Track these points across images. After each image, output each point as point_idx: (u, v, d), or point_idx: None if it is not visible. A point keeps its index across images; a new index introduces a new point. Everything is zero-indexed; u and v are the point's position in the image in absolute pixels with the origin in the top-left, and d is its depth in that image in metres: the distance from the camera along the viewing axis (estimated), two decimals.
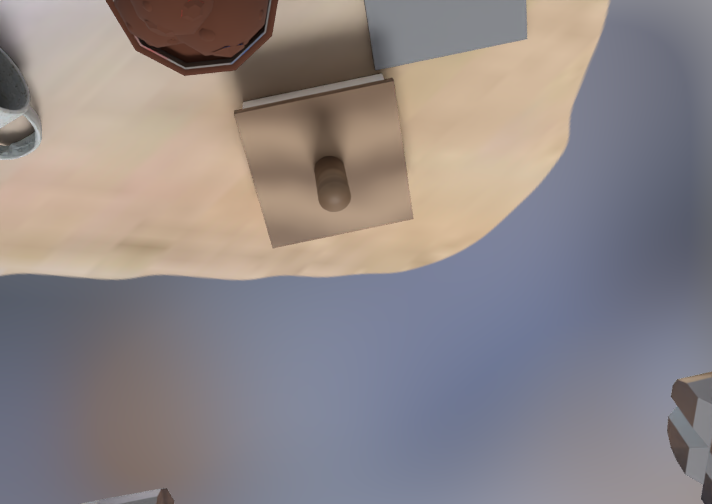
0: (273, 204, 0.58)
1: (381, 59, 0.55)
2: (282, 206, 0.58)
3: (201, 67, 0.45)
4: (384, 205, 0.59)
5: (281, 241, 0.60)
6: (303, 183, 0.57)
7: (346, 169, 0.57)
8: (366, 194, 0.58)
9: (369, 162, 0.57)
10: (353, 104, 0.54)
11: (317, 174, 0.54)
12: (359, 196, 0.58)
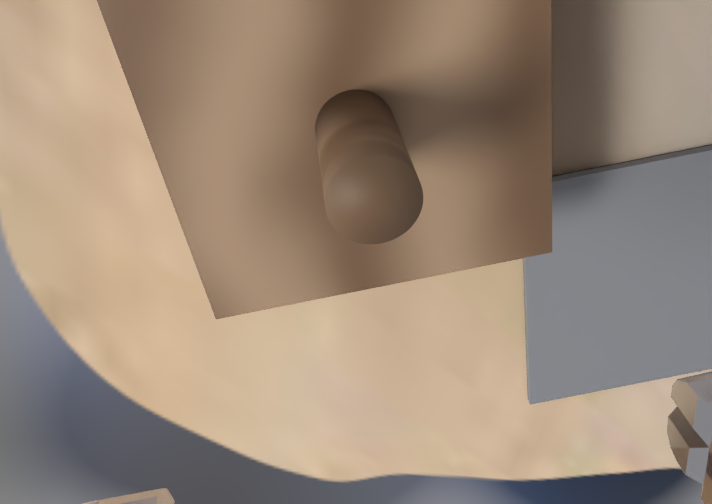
0: None
1: None
2: None
3: None
4: (251, 258, 0.24)
5: None
6: (317, 60, 0.20)
7: None
8: (282, 217, 0.23)
9: None
10: (516, 177, 0.23)
11: (383, 118, 0.19)
12: (276, 202, 0.23)
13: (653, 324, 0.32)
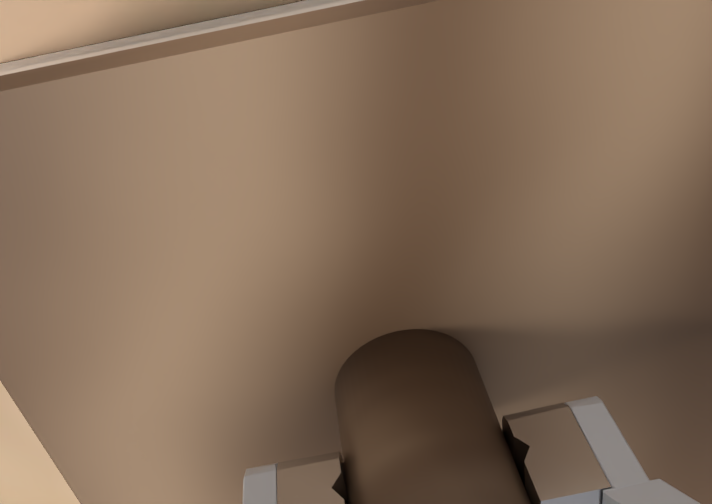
0: (200, 137, 0.09)
1: None
2: (189, 188, 0.09)
3: None
4: None
5: None
6: (341, 288, 0.11)
7: None
8: None
9: None
10: (674, 436, 0.14)
11: (476, 422, 0.10)
12: None
13: None
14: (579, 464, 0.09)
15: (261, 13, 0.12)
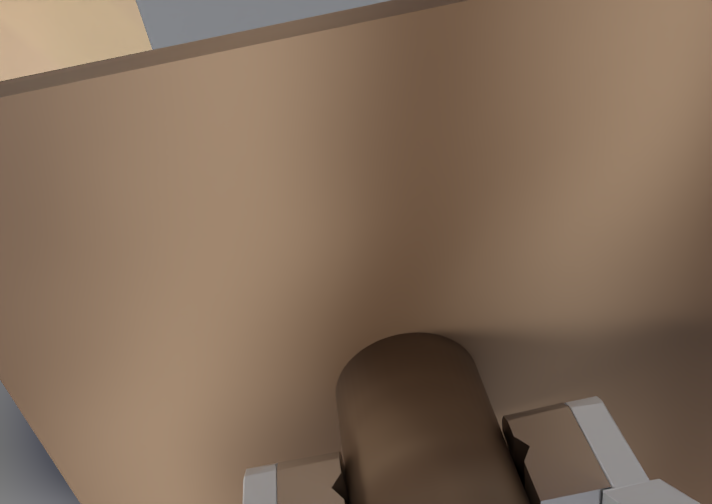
0: (202, 141, 0.09)
1: None
2: (191, 192, 0.09)
3: None
4: None
5: None
6: (342, 291, 0.11)
7: None
8: None
9: None
10: (674, 439, 0.14)
11: (477, 426, 0.10)
12: None
13: None
14: (579, 464, 0.09)
15: None
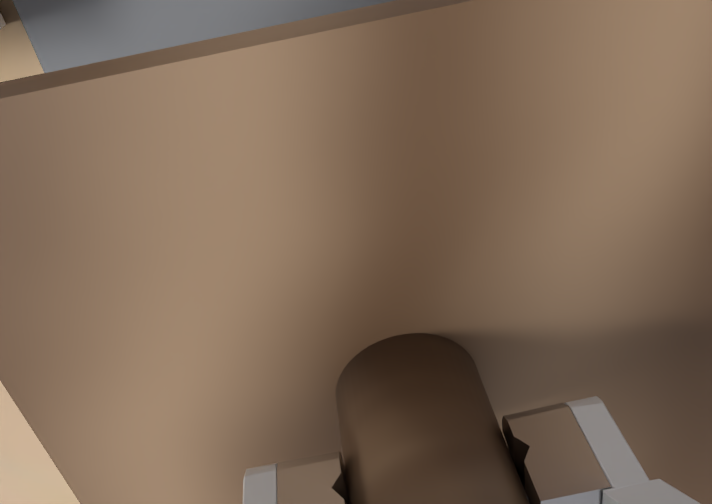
0: (202, 142, 0.09)
1: (63, 23, 0.14)
2: (191, 193, 0.09)
3: None
4: None
5: None
6: (343, 292, 0.11)
7: None
8: None
9: None
10: (675, 439, 0.14)
11: (477, 427, 0.10)
12: None
13: None
14: (579, 464, 0.09)
15: None
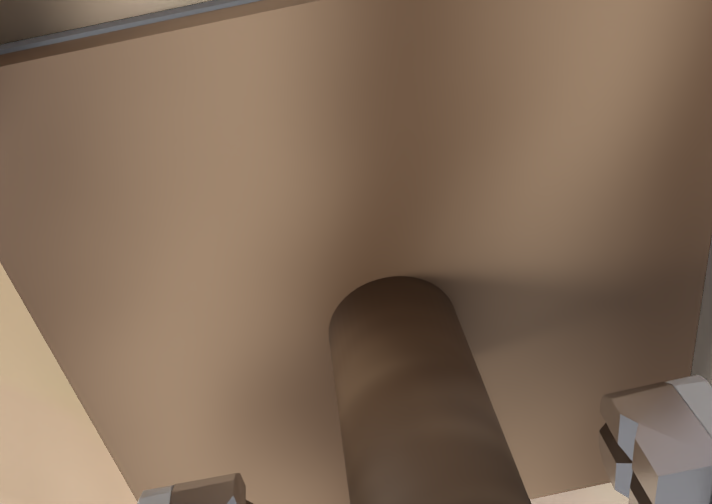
0: (211, 99, 0.10)
1: None
2: (201, 145, 0.11)
3: None
4: None
5: None
6: (334, 237, 0.12)
7: None
8: (276, 448, 0.15)
9: None
10: (636, 381, 0.15)
11: (451, 350, 0.11)
12: (267, 430, 0.15)
13: None
14: (692, 440, 0.09)
15: None
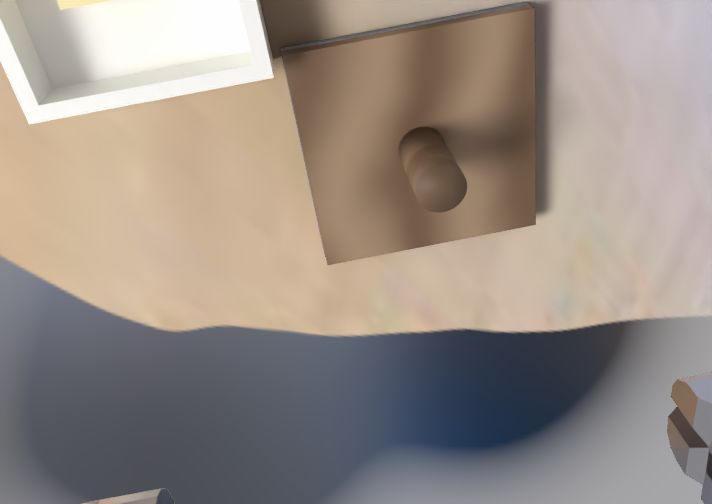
0: (370, 61, 0.34)
1: None
2: (365, 76, 0.35)
3: None
4: (353, 226, 0.39)
5: (296, 72, 0.34)
6: (403, 110, 0.36)
7: None
8: (374, 201, 0.39)
9: None
10: (514, 178, 0.39)
11: (442, 143, 0.35)
12: (372, 191, 0.38)
13: None
14: None
15: None
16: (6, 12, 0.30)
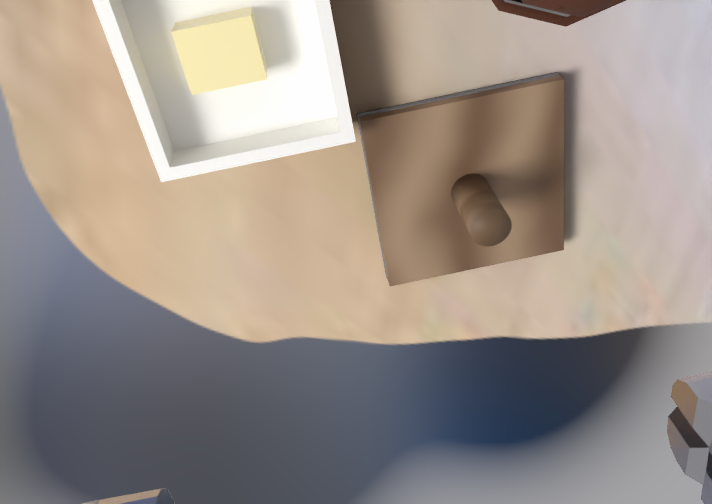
0: (430, 124, 0.42)
1: None
2: (425, 135, 0.42)
3: None
4: (412, 254, 0.47)
5: (370, 133, 0.42)
6: (456, 161, 0.44)
7: None
8: (430, 233, 0.46)
9: None
10: (546, 212, 0.47)
11: (489, 189, 0.43)
12: (428, 226, 0.46)
13: None
14: None
15: None
16: (148, 97, 0.38)
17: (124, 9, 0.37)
